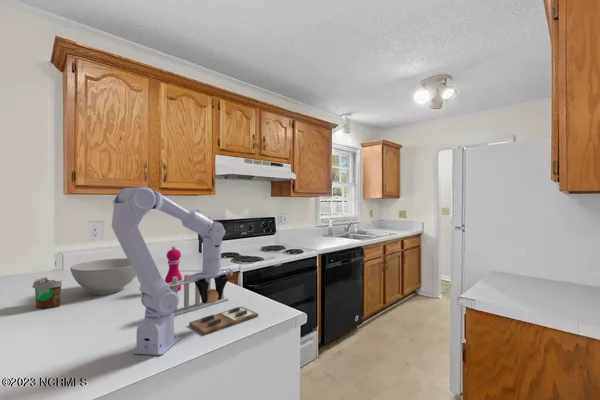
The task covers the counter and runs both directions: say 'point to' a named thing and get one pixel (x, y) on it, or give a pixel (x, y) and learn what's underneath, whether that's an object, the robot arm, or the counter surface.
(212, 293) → the terracotta ball
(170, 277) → the pepper mill
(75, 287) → the counter surface
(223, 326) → the cradle board
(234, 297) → the counter surface
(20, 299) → the counter surface
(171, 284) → the test tube rack
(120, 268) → the decorative bowl
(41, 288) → the food container
